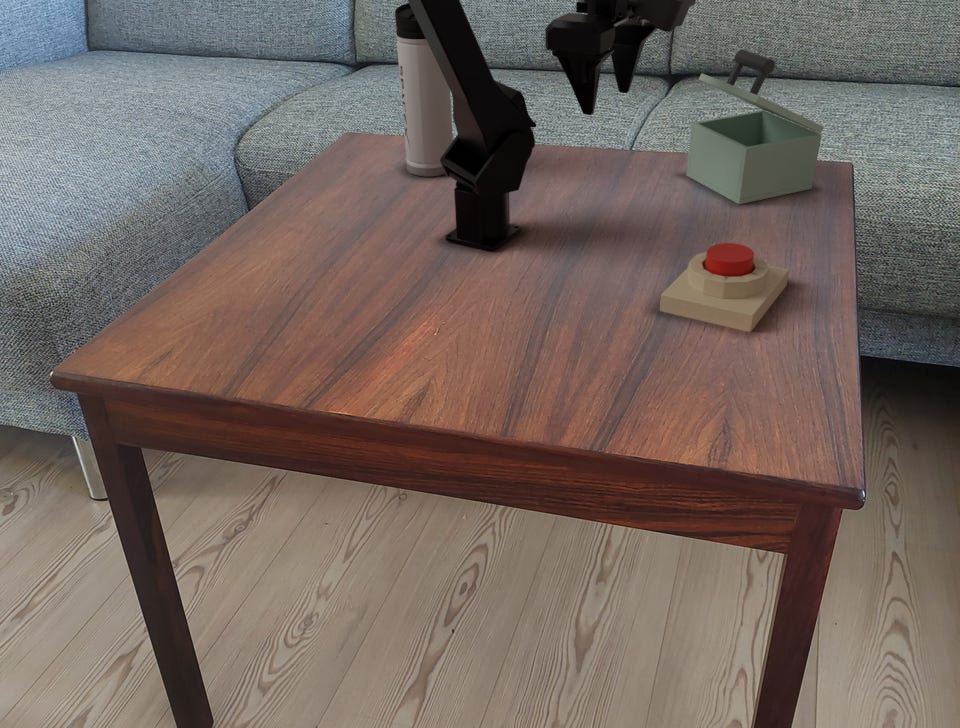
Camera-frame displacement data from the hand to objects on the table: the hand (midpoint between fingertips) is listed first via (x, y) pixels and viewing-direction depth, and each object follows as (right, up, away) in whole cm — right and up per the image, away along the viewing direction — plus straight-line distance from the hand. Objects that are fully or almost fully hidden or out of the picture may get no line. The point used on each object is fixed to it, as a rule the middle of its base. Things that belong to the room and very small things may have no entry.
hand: (606, 103), depth 104 cm
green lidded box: (+19, -5, +12) cm, 23 cm away
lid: (+19, +2, +7) cm, 20 cm away
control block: (+10, -24, -13) cm, 29 cm away
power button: (+10, -22, -14) cm, 28 cm away
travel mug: (-21, -1, +20) cm, 29 cm away
